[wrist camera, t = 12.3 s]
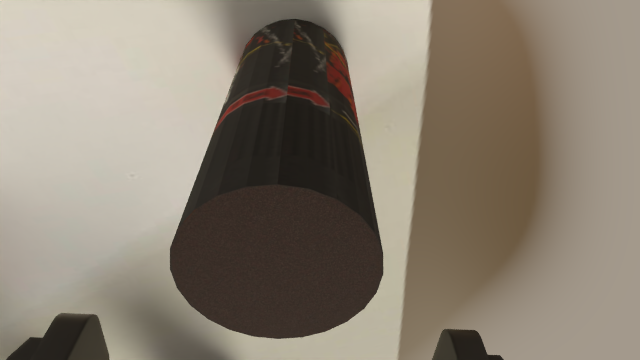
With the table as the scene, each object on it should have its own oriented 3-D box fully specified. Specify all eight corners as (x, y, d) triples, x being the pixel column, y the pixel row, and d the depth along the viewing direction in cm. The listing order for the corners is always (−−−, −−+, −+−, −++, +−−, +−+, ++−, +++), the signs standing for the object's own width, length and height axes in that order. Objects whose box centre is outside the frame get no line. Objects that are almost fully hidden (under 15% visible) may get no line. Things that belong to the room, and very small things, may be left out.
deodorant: (237, 16, 23) (153, 180, 11) (352, 21, 24) (398, 188, 11) (242, 120, 27) (182, 337, 14) (343, 124, 27) (371, 340, 15)
